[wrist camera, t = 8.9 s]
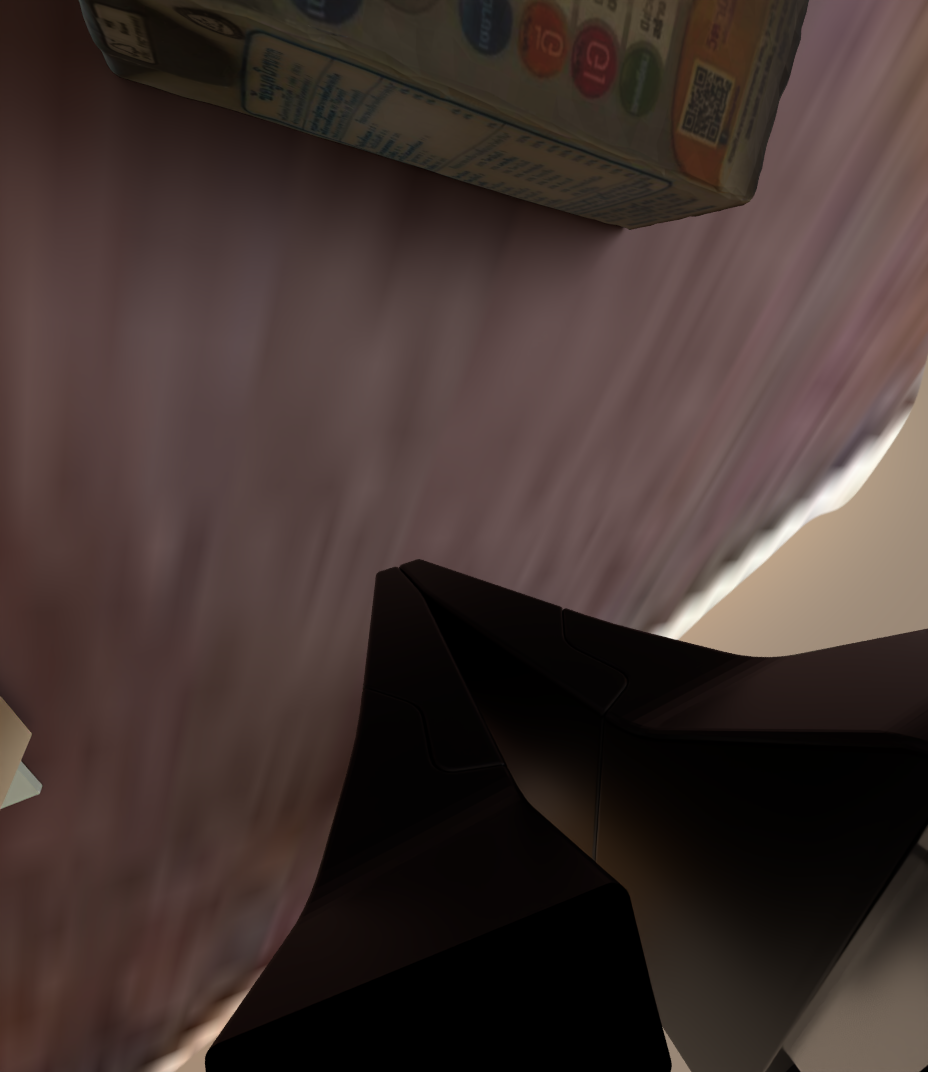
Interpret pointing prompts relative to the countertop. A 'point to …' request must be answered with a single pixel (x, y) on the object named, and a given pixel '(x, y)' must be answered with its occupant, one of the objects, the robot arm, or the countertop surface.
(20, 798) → the mat
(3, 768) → the beige bevelled block
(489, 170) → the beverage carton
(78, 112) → the countertop surface
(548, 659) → the robot arm
